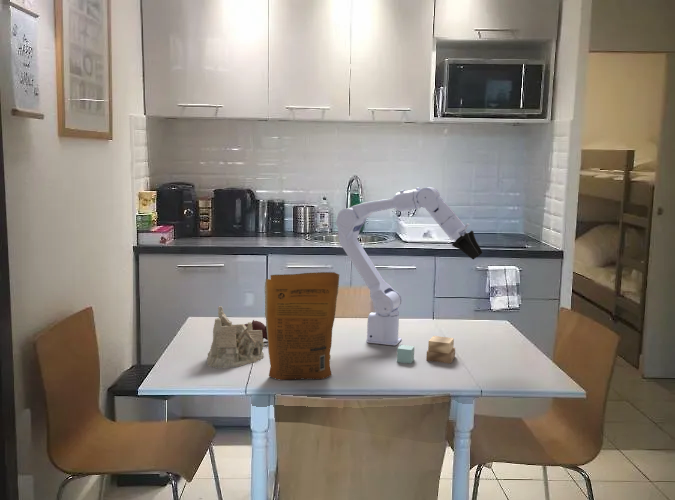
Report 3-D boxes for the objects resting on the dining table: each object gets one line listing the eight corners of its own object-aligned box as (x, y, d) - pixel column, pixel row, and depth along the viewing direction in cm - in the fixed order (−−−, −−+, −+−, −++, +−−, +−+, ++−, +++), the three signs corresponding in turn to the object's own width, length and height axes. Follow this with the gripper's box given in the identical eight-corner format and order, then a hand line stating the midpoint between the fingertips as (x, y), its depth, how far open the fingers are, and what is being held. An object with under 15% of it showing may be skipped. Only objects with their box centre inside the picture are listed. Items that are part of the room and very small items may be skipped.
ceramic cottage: (201, 367, 185) (205, 312, 183) (212, 351, 201) (216, 301, 200) (259, 372, 185) (263, 317, 183) (266, 356, 201) (269, 306, 200)
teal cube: (396, 362, 194) (397, 348, 193) (400, 358, 197) (400, 344, 197) (410, 363, 192) (411, 350, 192) (413, 359, 196) (414, 346, 195)
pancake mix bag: (338, 381, 176) (341, 273, 172) (264, 382, 174) (264, 274, 170) (335, 373, 183) (338, 269, 179) (263, 374, 180) (264, 269, 176)
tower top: (428, 351, 195) (428, 340, 195) (433, 345, 201) (433, 335, 201) (449, 353, 193) (449, 343, 193) (453, 348, 199) (453, 338, 198)
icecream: (227, 324, 205) (278, 329, 206) (231, 312, 212) (279, 317, 213) (226, 344, 208) (276, 349, 209) (229, 332, 215) (277, 337, 216)
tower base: (426, 361, 195) (426, 351, 195) (431, 355, 202) (431, 345, 202) (450, 364, 193) (451, 354, 193) (454, 357, 200) (455, 347, 199)
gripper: (454, 212, 194) (485, 249, 192) (462, 211, 207) (491, 245, 205) (435, 228, 196) (466, 265, 194) (444, 226, 209) (473, 260, 207)
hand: (478, 256), depth 200 cm, fingers open, 7 cm apart
